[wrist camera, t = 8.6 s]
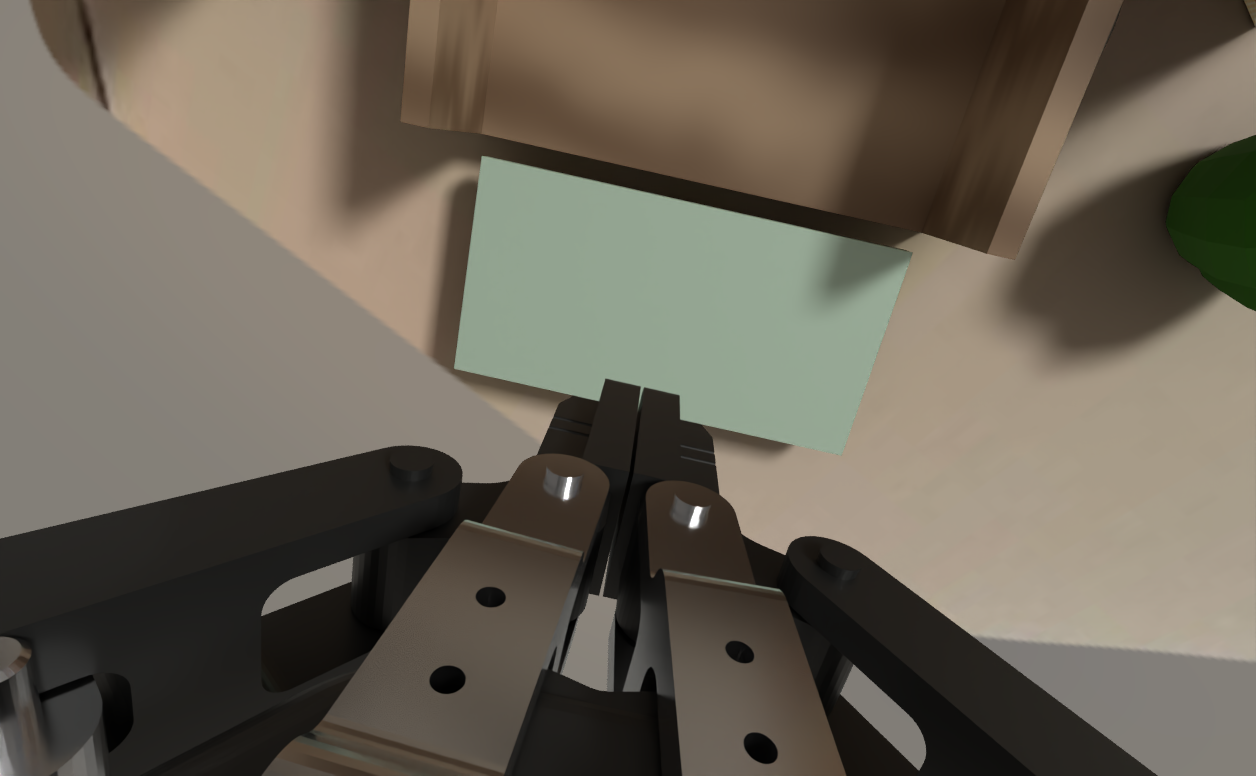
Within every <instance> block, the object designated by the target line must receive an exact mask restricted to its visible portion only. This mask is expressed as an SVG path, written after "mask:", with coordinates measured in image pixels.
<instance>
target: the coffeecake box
mask: <svg viewBox="0 0 1256 776" xmlns="http://www.w3.org/2000/svg"><path fill="white" fill-rule="evenodd" d="M1244 1H1245V4H1246V6H1247V9H1248V11H1249V13H1250V16H1251V18H1252V21H1253V23H1254V25H1255V26H1256V0H1244Z"/></svg>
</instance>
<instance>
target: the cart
mask: <svg viewBox="0 0 1256 776" xmlns="http://www.w3.org/2000/svg"><path fill="white" fill-rule="evenodd" d="M1122 3H1123V0H410V7H409V20H408V32H407V45H406V57H405V70H404V82H403V95H402V107H401V120H400V122H403V123H408V124H412V125H417V126H421V127H425V128H432V129H441V130H451V131H460V132H470V133H480V134H485V135H490V136H494V137H498V138H503V139H507V140H512V141H516V142H521V143H525V144H530V145H534V146H539V147H543V148H547V149H552V150H556V151H561V152H565V153H570V154H574V155H579V156H583V157H587V158H592V159H596V160H601V161H605V162H610V163H614V164H619V165H623V166H628V167H632V168H636V169H641V170H645V171H650V172H654V173H659V174H663V175H668V176H672V177H676V178H681V179H685V180H690V181H694V182H699V183H703V184H708V185H712V186H717V187H721V188H725V189H730V190H734V191H739V192H743V193H748V194H752V195H757V196H761V197H765V198H770V199H774V200H779V201H783V202H788V203H792V204H797V205H801V206H806V207H810V208H814V209H819V210H823V211H828V212H832V213H837V214H841V215H846V216H850V217H854V218H859V219H863V220H868V221H872V222H877V223H881V224H886V225H890V226H895V227H899V228H903V229H908V230H912V231H917V232H921V233H925V234H928V235H931V236H934V237H937V238H940V239H943V240H946V241H949V242H952V243H955V244H959V245H962V246H965V247H968V248H971V249H974V250H977V251H980V252H983V253H986V254H991V255H995V256H1000V257H1004V258H1008V259H1013V260H1015V258H1016V256H1017V254H1018V251H1019V249H1020V246H1021V244H1022V242H1023V239H1024V237H1025V234H1026V232H1027V230H1028V227H1029V225H1030V222H1031V220H1032V218H1033V215H1034V213H1035V211H1036V208H1037V206H1038V203H1039V201H1040V199H1041V196H1042V194H1043V191H1044V189H1045V187H1046V184H1047V182H1048V179H1049V177H1050V175H1051V172H1052V170H1053V168H1054V165H1055V163H1056V160H1057V158H1058V156H1059V153H1060V151H1061V148H1062V146H1063V144H1064V141H1065V139H1066V136H1067V134H1068V132H1069V129H1070V127H1071V125H1072V122H1073V120H1074V117H1075V115H1076V113H1077V110H1078V108H1079V105H1080V103H1081V101H1082V98H1083V96H1084V94H1085V91H1086V89H1087V86H1088V84H1089V82H1090V79H1091V77H1092V74H1093V72H1094V70H1095V67H1096V65H1097V62H1098V60H1099V58H1100V55H1101V54H1102V52H1103V50H1104V48H1105V46H1106V44H1107V42H1108V40H1109V38H1110V35H1111V33H1112V31H1113V29H1114V26H1115V23H1116V21H1117V18H1118V15H1119V12H1120V9H1121V6H1122Z"/></svg>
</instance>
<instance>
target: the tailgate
mask: <svg viewBox="0 0 1256 776" xmlns="http://www.w3.org/2000/svg"><path fill="white" fill-rule="evenodd" d="M911 256H912V252H909V251H906V250H902V249H898V248H894V247H889V246H885V245H880V244H876V243H871V242H867V241H862V240H858V239H853V238H849V237H845V236H840V235H836V234H831V233H827V232H822V231H818V230H813V229H809V228H805V227H800V226H796V225H791V224H787V223H782V222H778V221H773V220H769V219H764V218H760V217H756V216H751V215H747V214H742V213H738V212H733V211H729V210H724V209H720V208H716V207H711V206H707V205H702V204H698V203H693V202H689V201H684V200H680V199H675V198H671V197H667V196H662V195H658V194H653V193H649V192H644V191H640V190H635V189H631V188H627V187H622V186H618V185H613V184H609V183H604V182H600V181H595V180H591V179H586V178H582V177H578V176H573V175H569V174H564V173H560V172H555V171H551V170H546V169H542V168H538V167H533V166H529V165H524V164H520V163H515V162H511V161H506V160H502V159H497V158H493V157H488V156H482V159H481V166H480V174H479V181H478V189H477V197H476V204H475V212H474V220H473V227H472V235H471V243H470V250H469V258H468V265H467V273H466V281H465V288H464V296H463V304H462V311H461V319H460V327H459V334H458V342H457V350H456V357H455V365H454V369H458V370H462V371H467V372H471V373H476V374H480V375H485V376H489V377H493V378H498V379H502V380H507V381H511V382H516V383H520V384H525V385H529V386H534V387H538V388H542V389H547V390H551V391H556V392H560V393H565V394H569V395H574V396H578V397H583V398H587V399H591V400H596V401H599V399H600V396H601V392H602V389H603V385H604V382H605V379H611V380H615V381H619V382H624V383H628V384H633V385H637V386H641V390H640V398H639V403H640V399H641V395H642V392H643V388H644V387H646V388H651V389H655V390H659V391H664V392H668V393H673V394H677V395H680V419H681V420H685V421H689V422H694V423H698V424H703V425H707V426H712V427H716V428H721V429H725V430H730V431H734V432H738V433H743V434H747V435H752V436H756V437H761V438H765V439H770V440H774V441H779V442H783V443H787V444H792V445H796V446H801V447H805V448H810V449H814V450H819V451H823V452H828V453H832V454H836V455H841V456H842V453H843V450H844V447H845V444H846V441H847V439H848V436H849V433H850V430H851V427H852V424H853V422H854V419H855V416H856V413H857V410H858V407H859V404H860V402H861V399H862V396H863V393H864V390H865V387H866V384H867V382H868V379H869V376H870V373H871V370H872V367H873V365H874V362H875V359H876V356H877V353H878V350H879V347H880V345H881V342H882V339H883V336H884V333H885V330H886V327H887V325H888V322H889V319H890V316H891V313H892V310H893V308H894V305H895V302H896V299H897V296H898V293H899V290H900V288H901V285H902V282H903V279H904V276H905V273H906V270H907V268H908V265H909V262H910V259H911ZM638 407H639V405H638Z"/></svg>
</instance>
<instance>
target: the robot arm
mask: <svg viewBox="0 0 1256 776" xmlns="http://www.w3.org/2000/svg"><path fill="white" fill-rule="evenodd" d="M640 390H641V386H637V385H633V384H628V383H624V382H619V381H615V380H611V379H605V382H604V385H603V389H602V392H601V396H600V399H599V401H595V400H591V399H587V398H582V397H578V396H572V397H571V398H569V399H567V400H565V401H563V402H561V403H559V405H558V407H557V410H556V412H555V414H554V417H553V419H552V421H551V423H550V426H549V428H548V430H547V433H546V435H545V437H544V440H543V442H542V444H541V447H540V449H539V451H538V454H537V455H536V456H532V457H530V458H528V459H526V460H524V461H523V462H522V463H521V464H520V465H519V467H518V468H517V470H516V471H515V473H514V474H513V476H512V478H511V479H510V481H506V482H500V483H462V469H461V466H460V465H459V463H458V462H457V461H456V460H455V459H453V458H452V457H450V456H449V455H447V454H445V453H443V452H440V451H438V450H434V449H430V448H427V447H420V446H393V447H388V448H383V449H379V450H375V451H371V452H366V453H362V454H357V455H353V456H349V457H345V458H340V459H336V460H332V461H328V462H324V463H319V464H315V465H311V466H307V467H302V468H298V469H294V470H290V471H286V472H281V473H277V474H273V475H269V476H264V477H260V478H256V479H251V480H247V481H243V482H239V483H234V484H230V485H226V486H222V487H217V488H214V489H209V490H205V491H201V492H196V493H192V494H188V495H184V496H179V497H175V498H171V499H167V500H162V501H158V502H154V503H150V504H146V505H141V506H137V507H133V508H128V509H124V510H120V511H116V512H111V513H108V514H103V515H99V516H94V517H91V518H86V519H82V520H77V521H73V522H69V523H65V524H61V525H57V526H53V527H48V528H44V529H40V530H35V531H31V532H27V533H23V534H18V535H14V536H10V537H5V538H1V539H0V776H1157V775H1156V774H1155V773H1153V772H1152V771H1151V770H1149V769H1148V768H1147V767H1145V766H1144V765H1142V764H1141V763H1140V762H1139V761H1137V760H1136V759H1135V758H1133V757H1132V756H1131V755H1129V754H1128V753H1127V752H1125V751H1124V750H1123V749H1121V748H1120V747H1119V746H1117V745H1116V744H1115V743H1113V742H1112V741H1111V740H1109V739H1108V738H1107V737H1105V736H1104V735H1103V734H1102V733H1100V732H1099V731H1098V730H1096V729H1095V728H1094V727H1092V726H1091V725H1090V724H1088V723H1087V722H1085V721H1084V720H1083V719H1082V718H1080V717H1079V716H1078V715H1076V714H1075V713H1074V712H1072V711H1071V710H1070V709H1068V708H1067V707H1066V706H1064V705H1063V704H1062V703H1060V702H1059V701H1058V700H1056V699H1055V698H1053V697H1052V696H1051V695H1050V694H1048V693H1047V692H1046V691H1044V690H1043V689H1042V688H1040V687H1039V686H1038V685H1036V684H1035V683H1034V682H1032V681H1031V680H1030V679H1028V678H1027V677H1026V676H1024V675H1023V674H1022V673H1020V672H1019V671H1018V670H1016V669H1015V668H1014V667H1012V666H1011V665H1010V664H1008V663H1007V662H1006V661H1004V660H1003V659H1002V658H1000V657H999V656H998V655H996V654H995V653H994V652H992V651H991V650H990V649H988V648H987V647H986V646H984V645H983V644H982V643H980V642H979V641H978V640H977V639H975V638H974V637H973V636H971V635H970V634H969V633H967V632H966V631H965V630H963V629H962V628H961V627H959V626H958V625H957V624H955V623H954V622H953V621H951V620H950V619H949V618H947V617H946V616H945V615H943V614H942V613H941V612H939V611H938V610H937V609H935V608H934V607H933V606H931V605H930V604H929V603H927V602H926V601H925V600H923V599H922V598H921V597H919V596H918V595H917V594H915V593H914V592H913V591H911V590H910V589H909V588H907V587H906V586H905V585H903V584H902V583H901V582H899V581H898V580H897V579H895V578H894V577H893V576H891V575H890V574H889V573H887V572H886V571H885V570H883V569H882V568H881V567H879V566H878V565H877V564H875V563H874V562H873V561H871V560H870V559H869V558H867V557H866V556H865V555H863V554H862V553H860V552H859V551H857V550H855V549H853V548H852V547H850V546H847V545H845V544H843V543H840V542H838V541H835V540H832V539H828V538H823V537H816V536H805V537H800V538H798V539H795V540H794V541H792V542H791V544H790V545H789V547H788V550H787V553H786V555H783V554H781V553H779V552H776V551H774V550H772V549H769V548H767V547H765V546H762V545H760V544H758V543H756V542H754V541H752V540H750V539H749V538H747V537H745V536H744V535H742V534H741V531H740V527H739V524H738V520H737V517H736V513H735V511H734V509H733V507H732V506H731V505H730V503H729V502H728V501H727V500H725V499H724V498H723V497H722V496H720V495H719V487H718V478H717V470H716V466H715V463H716V462H715V454H714V446H713V438H712V437H711V436H710V435H709V433H708V432H707V431H706V430H705V429H704V427H703V426H702V425H701V424H698V423H693V422H689V421H684V420H680V395H677V394H673V393H668V392H664V391H659V390H655V389H651V388H646V387H644V388H643V392H642V395H641V399H640V403H639V398H640ZM638 405H639V407H638ZM609 552H610V554H609ZM608 556H609V561H608ZM351 557H354V558H353V571H352V582H350V583H347V584H344V585H342V586H339V587H337V588H334V589H331V590H329V591H326V592H324V593H321V594H318V595H316V596H313V597H310V598H308V599H305V600H303V601H300V602H297V603H295V604H292V605H290V606H287V607H284V608H282V609H279V610H277V611H274V612H271V613H269V614H266V615H264V616H261V613H262V608H263V606H264V604H265V601H266V600H267V598H268V597H269V596H270V595H271V594H272V592H273V591H274V590H276V589H277V588H278V587H279V586H280V585H282V584H283V583H285V582H287V581H288V580H290V579H292V578H295V577H298V576H301V575H303V574H306V573H309V572H312V571H314V570H317V569H320V568H323V567H326V566H329V565H331V564H334V563H337V562H340V561H343V560H346V559H349V558H351ZM607 561H608V567H607V574H606V580H605V587H604V593H603V596H604V597H608V598H613V599H617V605H616V611H615V614H614V619H613V622H612V626H611V630H610V634H609V641H608V642H609V643H608V644H609V645H608V675H607V677H608V678H607V691H599V690H595V689H592V688H590V687H588V686H585V685H583V684H581V683H579V682H576V681H574V680H572V679H570V678H568V677H565V676H563V675H562V673H563V670H564V666H565V663H566V660H567V656H568V653H569V650H570V647H571V644H572V641H573V637H574V634H575V631H576V626H577V622H578V618H579V615H580V614H581V613H582V612H583V610H584V609H585V606H586V603H587V599H588V594H594V595H599V593H600V589H601V584H602V581H603V577H604V573H605V569H606V564H607ZM853 664H854V665H855V666H856V667H857V668H858V669H859V670H860V671H862V672H863V673H864V674H865V675H866V676H867V677H868V678H869V679H870V680H872V682H874V683H875V684H876V685H877V686H878V687H879V688H880V689H881V690H882V691H883V692H885V693H886V694H887V695H888V696H889V697H890V698H891V699H892V700H893V701H894V702H896V703H897V704H898V705H899V706H900V707H901V708H902V709H903V710H904V711H905V712H906V713H907V714H909V716H910V717H912V718H913V720H914V721H915V722H916V723H917V725H918V727H919V729H920V730H921V732H922V734H923V737H924V740H925V744H926V759H925V761H924V763H923V765H922V767H921V769H920V770H917V769H916V768H915V767H914V766H913V765H912V764H911V763H910V762H909V761H908V760H907V759H906V758H905V757H904V756H903V755H902V754H901V753H900V752H899V751H898V750H897V749H896V748H895V747H894V746H893V745H892V744H891V743H890V742H889V741H888V740H887V739H886V738H884V736H883V735H881V734H880V733H879V732H878V731H877V730H876V729H875V728H874V727H873V726H872V725H871V724H870V723H869V722H868V721H867V720H866V719H865V718H864V717H863V716H862V715H861V714H860V713H859V712H858V711H857V710H856V709H855V708H854V707H853V706H852V705H851V704H850V703H849V702H848V701H847V700H846V699H845V698H844V697H842V696H841V695H840V693H841V691H842V689H843V686H844V684H845V682H846V680H847V678H848V675H849V673H850V671H851V669H852V667H853Z"/></svg>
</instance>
